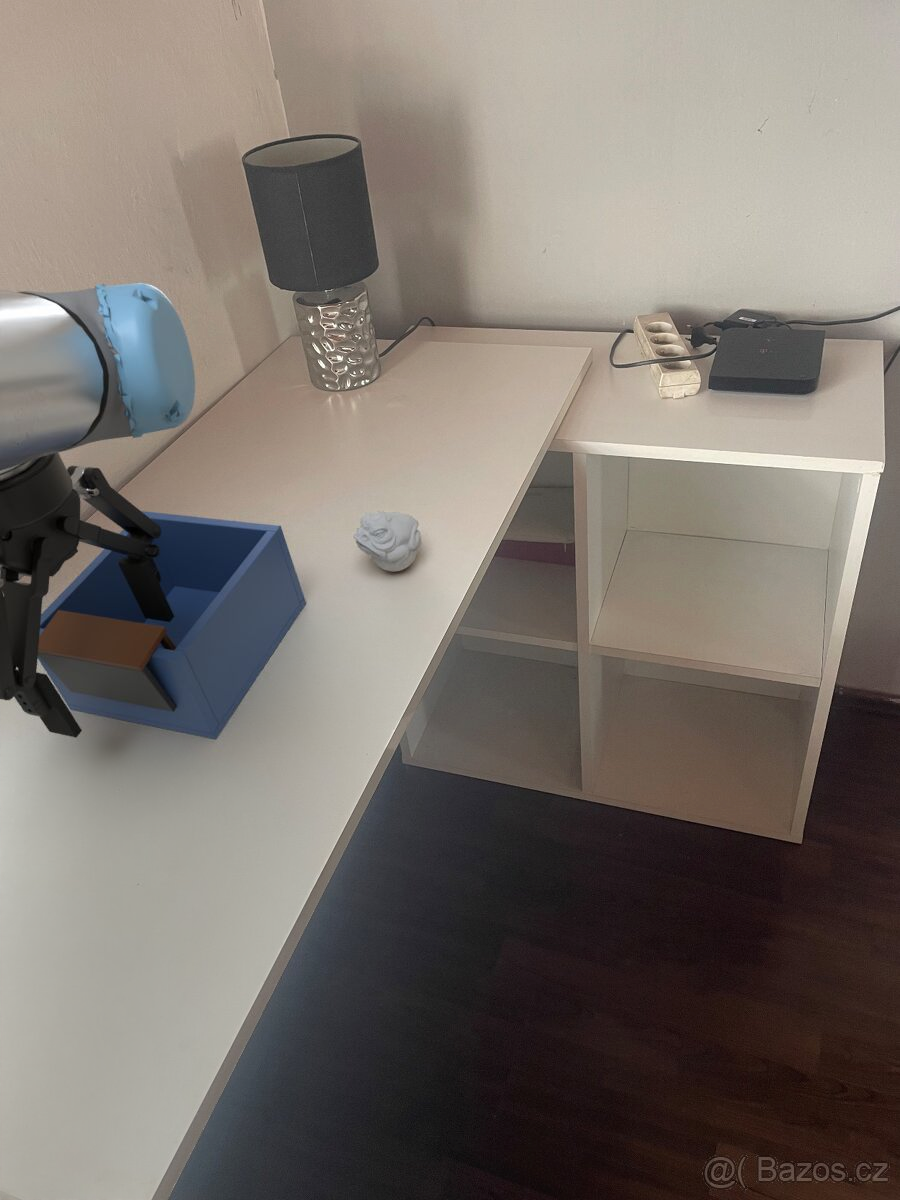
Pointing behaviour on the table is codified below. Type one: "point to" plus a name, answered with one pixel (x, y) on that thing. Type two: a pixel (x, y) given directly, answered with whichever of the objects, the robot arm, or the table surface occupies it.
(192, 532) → the bin
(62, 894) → the table surface
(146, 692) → the two-tone wooden bracket
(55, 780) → the table surface
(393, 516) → the frog figurine
